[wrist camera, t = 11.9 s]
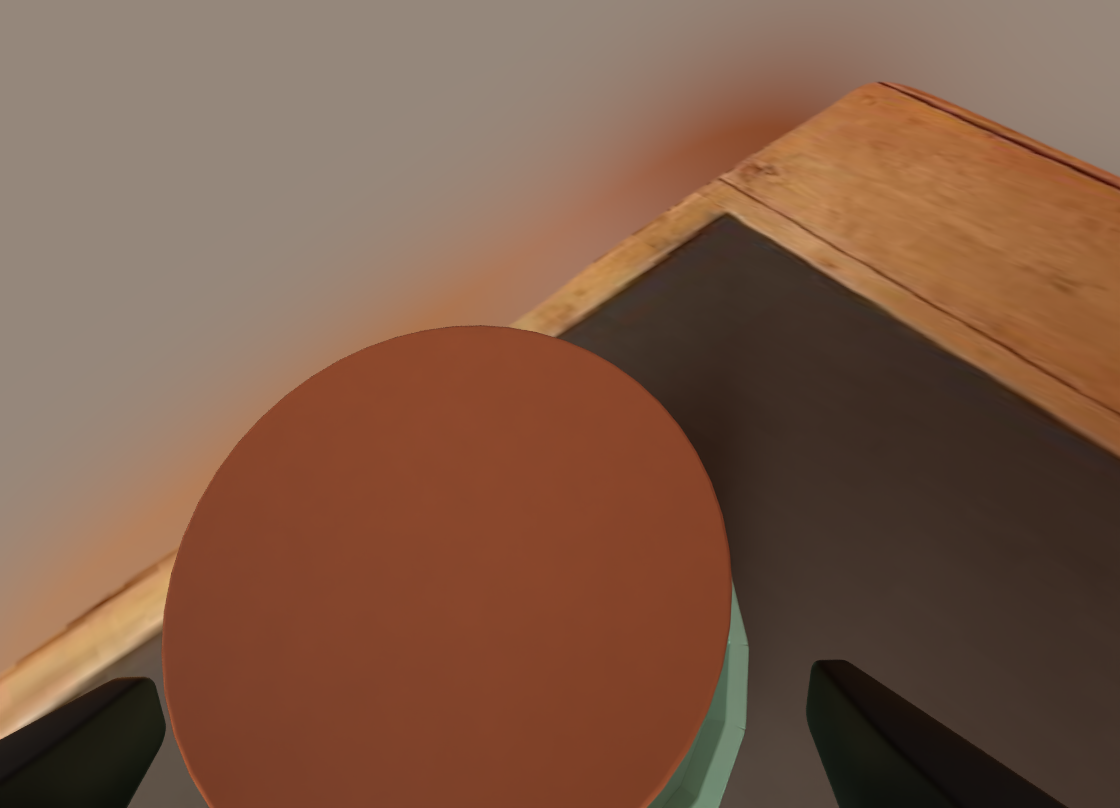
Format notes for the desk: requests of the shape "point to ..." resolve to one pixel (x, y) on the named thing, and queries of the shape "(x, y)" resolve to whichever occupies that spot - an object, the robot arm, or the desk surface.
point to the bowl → (715, 731)
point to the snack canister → (450, 587)
